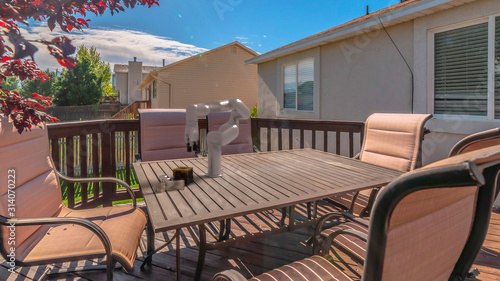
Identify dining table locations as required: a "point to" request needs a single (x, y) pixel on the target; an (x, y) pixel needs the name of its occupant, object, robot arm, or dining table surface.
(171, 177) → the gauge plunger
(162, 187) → the centring jig
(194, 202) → the dining table surface
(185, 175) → the candle
